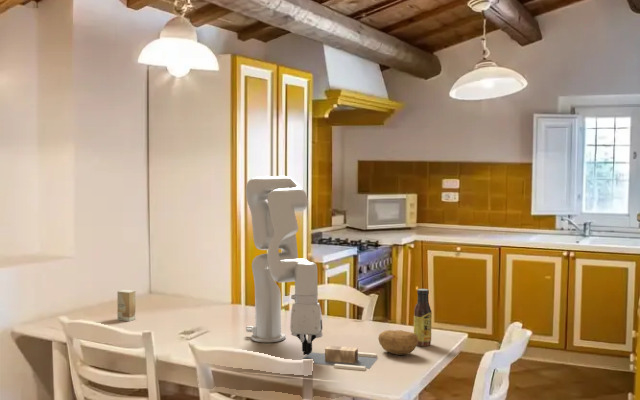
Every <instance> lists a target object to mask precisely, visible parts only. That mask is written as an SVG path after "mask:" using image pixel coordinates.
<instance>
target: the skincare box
mask: <svg viewBox="0 0 640 400" xmlns="http://www.w3.org/2000/svg"><path fill="white" fill-rule="evenodd" d="M116 302H117V312H116V313H117V321H123V322H124V321H126V322H132V321H134V320H136V290H133V289H132V290H131V289H121V290H117V301H116Z"/></svg>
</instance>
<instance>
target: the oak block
mask: <svg viewBox="0 0 640 400" xmlns="http://www.w3.org/2000/svg"><path fill="white" fill-rule="evenodd" d="M358 349H359V348H358V347H349V346H336V345H327V347H325V348H324V353H325V361H333V362H345V363H355V362H356V361H357V360H358V352H359V350H358Z"/></svg>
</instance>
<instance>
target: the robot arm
mask: <svg viewBox="0 0 640 400" xmlns="http://www.w3.org/2000/svg"><path fill="white" fill-rule="evenodd" d="M245 198H246V201H247V205H248V208H249V211H250V216H251V225H252V228H251V229H252V236H253V237H252V239H253V243H254V246H255V248H256V249H257V250H260V251H267V253H261V254H259V255H256V256H255V257H254V258H253V260H252V263H251V269H252V275H253V281H254V303H255V304H254V309H255V311H254V313H255V317H254V318H255V321H254V323H255V325H254V326H252V325H246V327H245V331H246V332H247V333H252V334H251V340H252V341H255V342H256V343H257V342H258V343H265V344H267V343H277V342H281V341H282V342H283V341H284V340H285V339H286V334H285V333H284V332H282V294H281V293H282V292H281V288H280V287H279V285H278V284H277V283H280V284H281V283H291V282H294V294H291V298H290V299H291V300H293V301H294V302H293V303H292V304H291V305H292V306H291V312H290V323H289V324H290V326H289V327H290V328H289V329H290V333H291V334H290V335H291V336H294V337H297V339H298V340H300V343H301V352H303V353H302V354H303V355H304V356H306V355H309V354H310V353H311V352H313V342H314V340H315V339H319V338H322V337H323V336H324V334H323V325H324V324H323V314H322V308H321V305H320V304H321V303H320V302H318V301H319V297H318V295H319V294H318V290H319V289H318V288H319V287H318V282H319V281H318V266H317V263H315V262H314V261H309V260H308V259H306V258H299V254H298V243H297V236H296V235H297V233H298V231H299V225H298V221H297V217H296V212H303V211H305V210H306V209H307V207H308V204H309V203H308V201H309V200H308V196H307V192H306V191H305V189H304V188H303V187H302V186H301V185H300V184H299V183H298V182H297V181H296V180H294V179H293V178H292V177H291V176H286V175H279V176H278V175H276V176H275V175H274V176H269V175H266V176H256V177H252V178H251V179H249V180H248V181H247V183H246V186H245ZM279 250H281V252H279Z"/></svg>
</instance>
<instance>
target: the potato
mask: <svg viewBox="0 0 640 400" xmlns="http://www.w3.org/2000/svg"><path fill="white" fill-rule="evenodd" d="M377 339H378V341H379V342H378V343H379V345H380V346H381V347H382V349H383V350H384V351H386V352H388V353H390V354H393V355H395V356H396V355H397V356H398V355H399V356H402V355H408V354H411V353H413V351H415V349H416V348H417V347H418V346H417V344H418V336H417V335H416V334H414V332H412V331H411V332H410V331H406V330H402V329H401V330H400V329H399V330H398V329H397V330H394V329H389V330H384V331H382V332H380V334H379V336H378V338H377Z"/></svg>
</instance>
